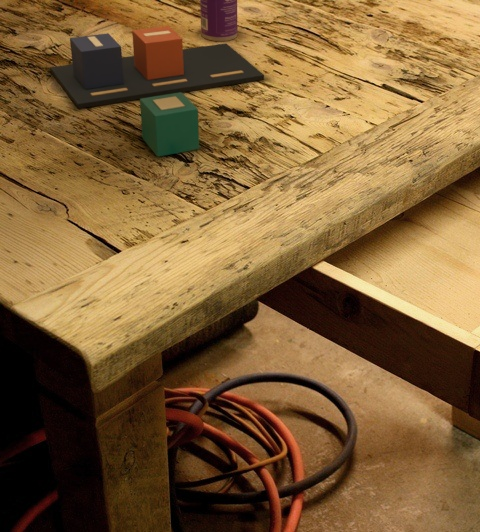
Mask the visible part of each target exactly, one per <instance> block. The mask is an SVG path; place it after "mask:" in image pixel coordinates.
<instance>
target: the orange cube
mask: <svg viewBox="0 0 480 532" xmlns="http://www.w3.org/2000/svg"><path fill="white" fill-rule="evenodd" d="M131 36H132V48H133V49H132V50H133V56H134V64H135V67H136V68H137V69H138V70H139V72H140V73H141V74H142V75H143V76H144V77H145V78H146V79H147V80H151V79H158V78H165V77H172V76H178V75H184V69H183V49H184V46H183V43H184V42H183V38H182V37H181V35H179V34H178V33H177V32H176V31H175V30H174V29H173V28H172V27H170V26H169V25H163V26H156V27H150V28H149V27H148V28H141V29H132V30H131Z"/></svg>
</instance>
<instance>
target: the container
mask: <svg viewBox="0 0 480 532" xmlns="http://www.w3.org/2000/svg"><path fill="white" fill-rule="evenodd" d="M199 5H200V6H199V10H200V35H201V37H202V38H204V39H206V40H208V41H213V42H228V41H233V40H234V39H236V38H237V37H238V0H199Z"/></svg>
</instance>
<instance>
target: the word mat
mask: <svg viewBox="0 0 480 532" xmlns="http://www.w3.org/2000/svg"><path fill="white" fill-rule="evenodd" d="M122 65H123V78H124V84H119V85H113V86H106V87H99V88H93V89H84V87H83V86H82V85H81V84H80V82H79V81H78V80H77V79H76V77H75V76H74V73H73V64H72V63H70V64H64V65H63V64H62V65H57V66H50V67H49V70H50V71H49V72H50V74H51V75H52V76H53V77H54V79H55V80H56V81H57V83H58V84H59V85H60V87H61V88H62V89H63V90H64V92H65V94H67V96H68V97H69V98H70V100H71V101H72V102H73V103H74V105H75V106H76V107H77V109H87V108H91V107H99V106H105V105H111V104H116V103H117V104H118V103H122V102H130V101H136V100H140V99H142V98H148V97H154V96H161V95H167V94H173V93H180V92H182V93H188V92H194V91H199V90H201V91H202V90H205V89H213V88H218V87H224V86H232V85H238V84H244V83H250V82H259V81H263V80H265V74H263V72H261V71H260V70H259V69H257V68H256V67H255V66H254V65H253V64H252V63H251V62H249V61H248V60H247V59H246V58H245V57H243V56H242V55H241V54H240V53H238V51H236V50H235V49H234V48H232V47H231V46H230V45H228V43H220V44H211V45H204V46H197V47H196V46H195V47H189V48H183V69H184V75H178V76H172V77H165V78H158V79H151V80H147V79H146V78H145V77H144V76H143V75H142V74H141V73H140V72H139V70H138V69H137V68H136V67H135V64H134V55H132V56H130V55H129V56H122Z"/></svg>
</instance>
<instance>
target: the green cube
mask: <svg viewBox="0 0 480 532" xmlns="http://www.w3.org/2000/svg"><path fill="white" fill-rule="evenodd" d="M139 107H140V121H141V122H140V123H141V137H142V140H143V141H144V142H145V144H146V145H147V146H148V147H149V148H150V149H151V151H152V152H153V154H155V155H156V157H158V158H160V157H165V156H169V155H175V154H179V153H185V152H190V151H196V150H199V149H200V133H199V132H200V130H199V128H200V127H199V108H198V107H197V106H196V105H195V104H194V103H193V102H192V101H190V99H189V98H188V97H187V96H186V95H185V94H184V92H180V93H173V94H167V95H161V96H154V97H148V98H142V99H139Z"/></svg>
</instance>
